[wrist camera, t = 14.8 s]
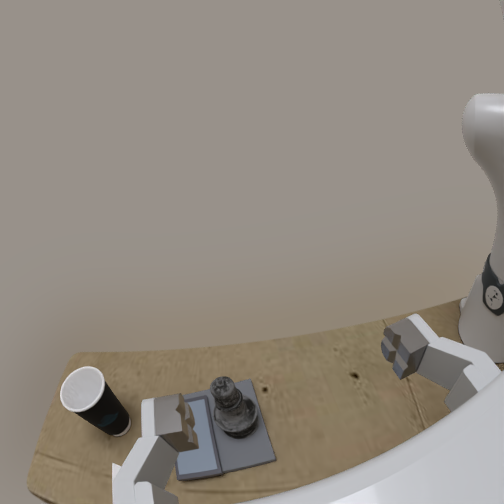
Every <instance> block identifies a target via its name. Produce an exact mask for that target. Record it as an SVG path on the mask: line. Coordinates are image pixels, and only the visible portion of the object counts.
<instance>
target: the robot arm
mask: <svg viewBox="0 0 504 504" xmlns="http://www.w3.org/2000/svg"><path fill="white" fill-rule="evenodd" d="M500 4H501V9H502V13H503V19H504V0H500ZM462 133H463V137H464V141H465V144H466V147H467V149H468V151H469V153H470V154H471V156H472V157H473V159H474V160H475V161H476V162H477V163H478V165H479V166H480V167H481V168H482V169H483V170H484V172H485V174H486V175H487V177H488V179H489V181H490V183H491V185H492V187H493V190H494V193H495V196H496V201H497V208H498V218H497V228H496V233H495V239H494V243H493V248H492V251H491V253H490V254H489V255H488V258H487V260H486V262H485V265H484V268H483V269H484V270H483V273H482V274H480V275H477V277H476V279H475V281H474V283H473V286H472V288H471V290H470V292H469V295H468V297H466V298H463V299H462V300H461V302H460V304H459V306H460V311H461V316H460V319H459V325H458V327H459V334H460V337H461V339H462V341H463V343H464V344H465V345H463V344H460V343H458V342H455V341H452V340H449V339H447V338H444V337H441V338H439V337H438V336H437V335H436V334H435V332H434V331H433V330H432V329H431V328H430V327H429V326H428V325H427V324H426V322H425V321H424V320H423V319H422V318H421V317H420V316H419V315H418V314H413V315H411V316H409V317H407V318H404V319H402V320H400V321H398V322H396V323H394V324H392V325H389V326H387V327H386V328H385V329H384V335H385V337H384V339H383V340H382V343H381V349H382V353H383V355H384V357H385V358H386V360H387V361H389V362H391V363H393V368H392V369H393V370H394V371H395V373H396V374H397V376H398V377H399V379H400V380H401V379H403V378H405V377H407V376H409V375H411V374H413V373H415V372H416V373H418V374H420V375H422V376H424V377H426V378H427V379H429V380H431V381H433V382H435V383H437V384H439V385H441V386H443V387H444V388H446V389H448V390H450V392H449V393H448V395H447V396H446V398H445V401H444V402H445V403H446V405H447V406H448V408H449V409H450V411H451V413H450V414H448V415H447V416H445V417H444V418H442V419H441V420H439V421H438V422H436V423H435V424H433V425H432V426H430V427H429V428H427V429H425V430H424V431H422V432H421V433H419V434H417V435H416V436H414V437H412V438H410V439H409V440H407V441H405V442H403V443H402V444H400V445H398V446H396V447H394V448H392V449H390V450H389V451H387V452H385V453H383V454H381V455H379V456H377V457H375V458H372V459H370V460H368V461H366V462H364V463H362V464H360V465H357V466H355V467H353V468H350V469H348V470H346V471H343V472H341V473H338V474H336V475H333V476H331V477H328V478H325V479H323V480H320V481H317V482H314V483H311V484H308V485H305V486H302V487H299V488H296V489H293V490H289V491H286V492H282V493H279V494H275V495H271V496H267V497H263V498H259V499H255V500H250V501H245V502H240V503H235V504H504V370H503V371H502V372H501V371H500V369H499V368H498V367H497V366H496V365H495V363H504V94H493V93H490V94H475V95H474V96H473V97H472V98H471V99H470V100H469V102H468V103H467V105H466V107H465V110H464V113H463V118H462ZM141 422H142V437H141V438H138V440H137V441H136V443H135V445H134V446H133V448H132V450H131V451H130V453H129V455H128V456H127V458H126V460H125V461H124V463H123V465H122V466H121V468H120V470H119V471H118V473H117V475H116V476H115V478H114V480H113V481H112V484H113V503H114V504H179V502H178V497H177V496H175V495H174V494H171V493H169V492H167V491H165V490H164V489H165V486H166V484H167V481H168V479H169V477H170V474H171V472H172V470H173V467H174V465H175V463H176V460H177V458H178V455H179V453H178V452H184V451H190V450H195V449H199V444H198V438H197V434H196V432H195V431H194V430H193V428H194V426H195V419H194V415H193V412H192V409H191V407H190V405H189V404H188V403H186V402H184V397H183V396H182V394H181V393H179V394H174V395H169V396H163V397H157V398H151V399H145V400H142V404H141Z"/></svg>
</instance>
